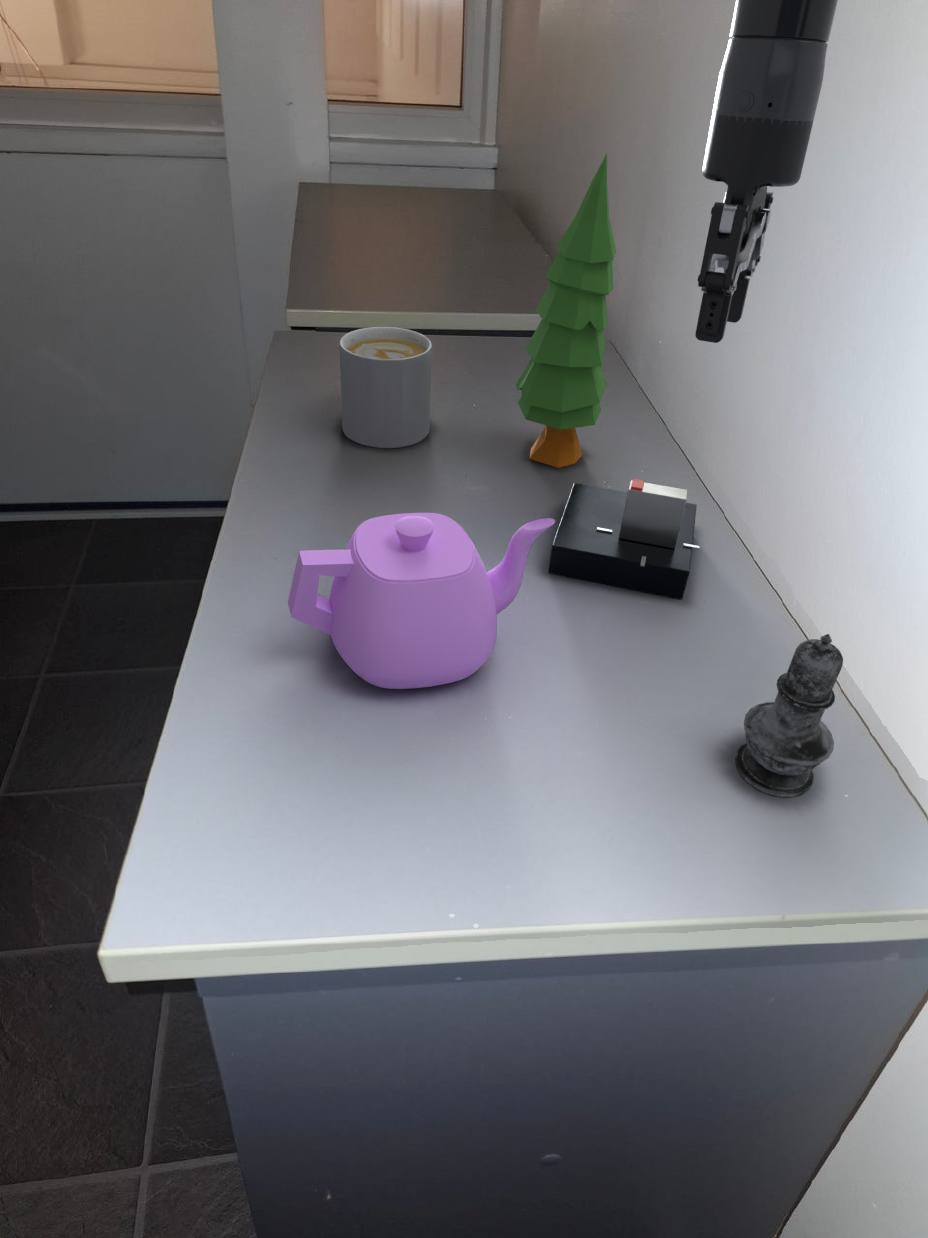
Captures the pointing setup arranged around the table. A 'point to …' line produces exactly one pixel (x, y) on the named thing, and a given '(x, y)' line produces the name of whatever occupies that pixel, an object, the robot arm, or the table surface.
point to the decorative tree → (571, 333)
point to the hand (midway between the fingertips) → (718, 330)
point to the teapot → (410, 598)
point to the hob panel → (618, 546)
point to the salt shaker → (792, 724)
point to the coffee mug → (385, 386)
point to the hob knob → (653, 513)
